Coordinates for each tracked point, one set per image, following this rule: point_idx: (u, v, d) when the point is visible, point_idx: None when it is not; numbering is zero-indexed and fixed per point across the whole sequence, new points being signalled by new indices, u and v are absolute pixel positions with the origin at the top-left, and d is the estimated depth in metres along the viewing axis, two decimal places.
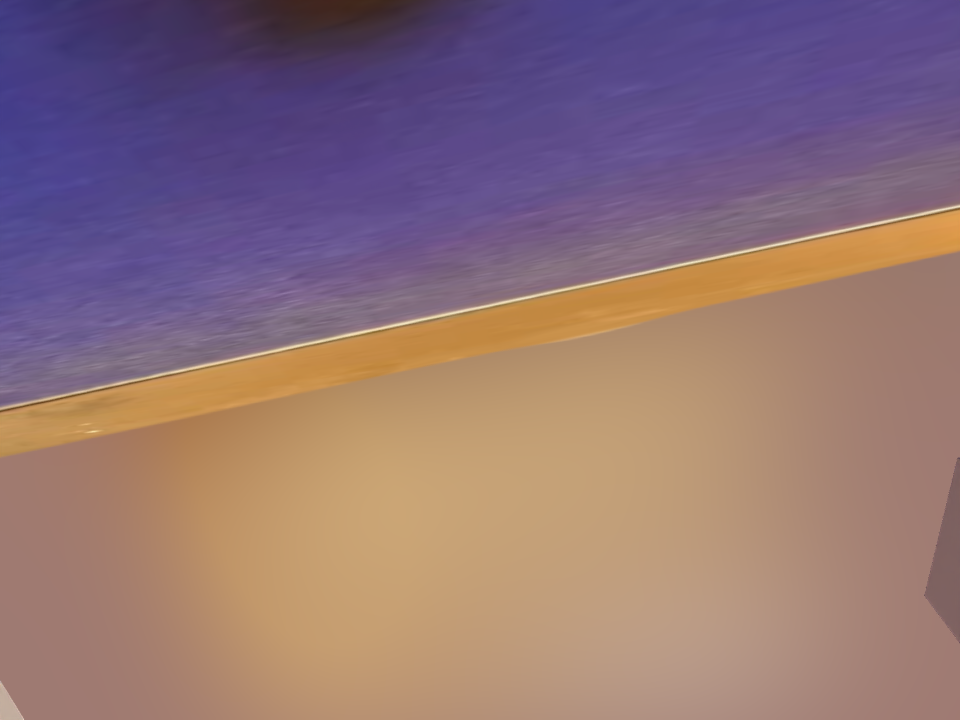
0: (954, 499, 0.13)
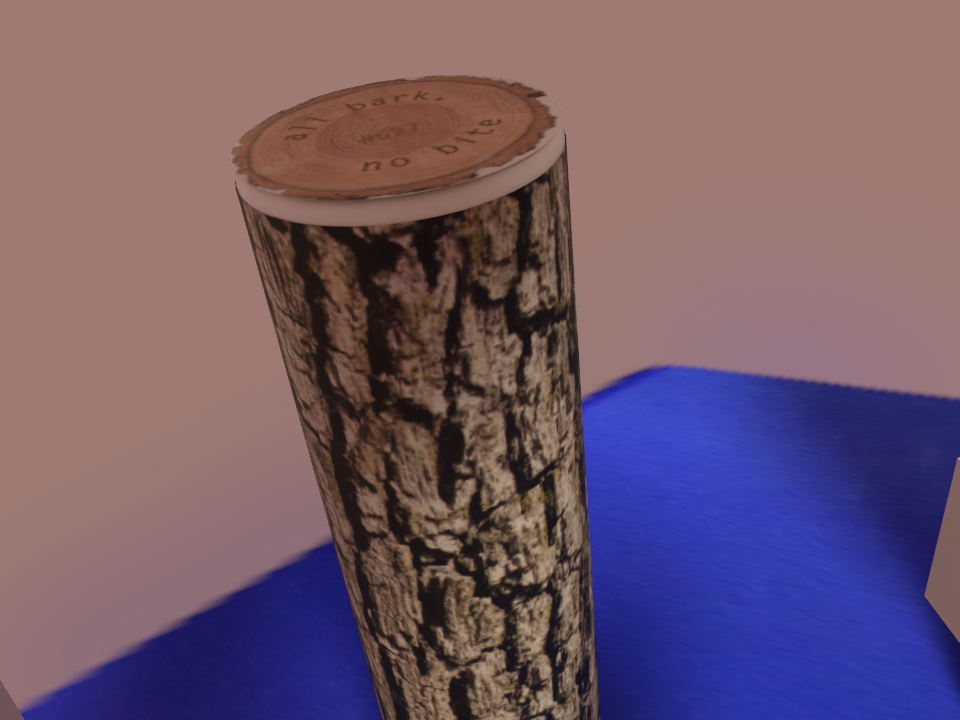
0: (954, 499, 0.13)
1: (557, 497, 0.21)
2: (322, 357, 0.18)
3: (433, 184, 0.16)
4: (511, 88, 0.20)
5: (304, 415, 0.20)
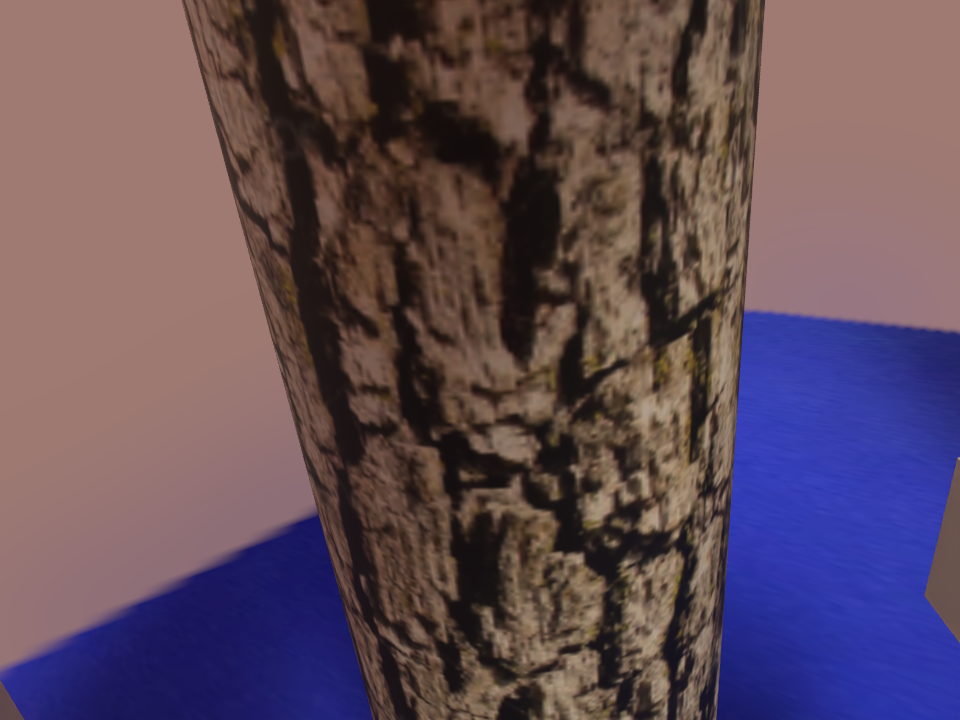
0: (954, 499, 0.13)
1: (711, 369, 0.12)
2: (267, 17, 0.09)
3: None
4: None
5: (242, 193, 0.11)
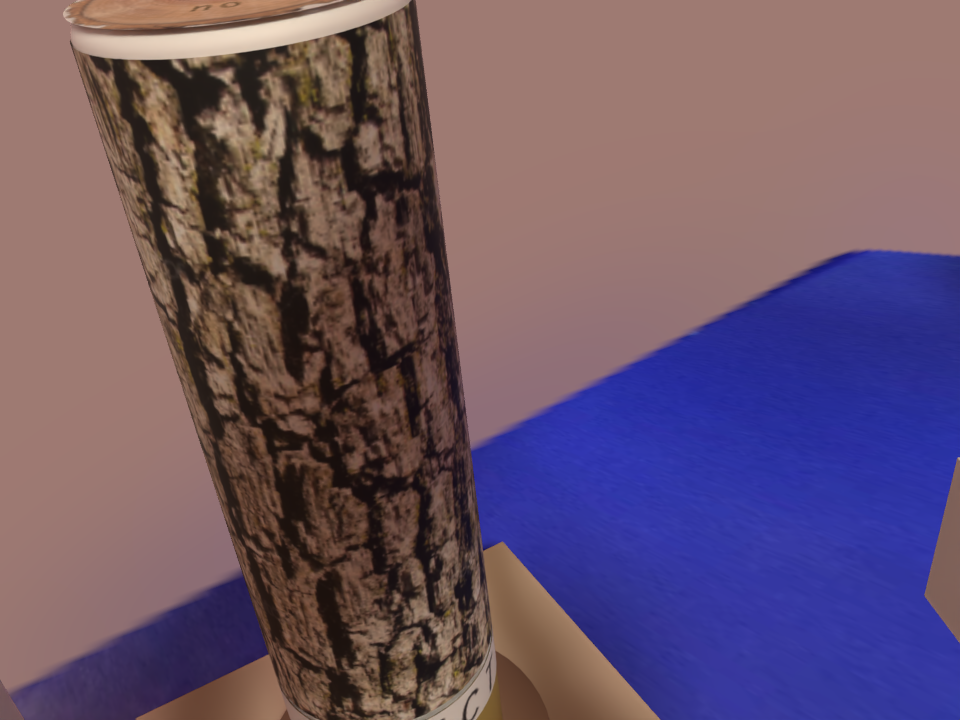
0: (954, 499, 0.13)
1: (419, 384, 0.21)
2: (158, 215, 0.18)
3: (256, 17, 0.16)
4: None
5: (153, 290, 0.20)
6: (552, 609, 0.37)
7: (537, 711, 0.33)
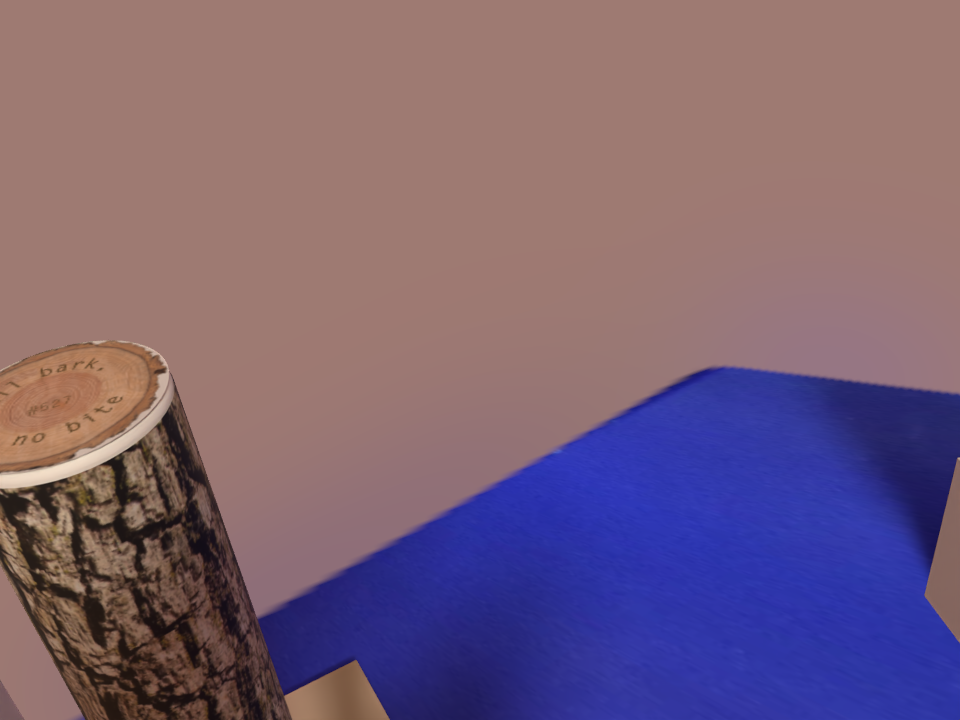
0: (954, 499, 0.13)
1: (196, 635, 0.31)
2: (1, 555, 0.28)
3: (46, 461, 0.25)
4: (150, 361, 0.29)
5: None
6: None
7: None
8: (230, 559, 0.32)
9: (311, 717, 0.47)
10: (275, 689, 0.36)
